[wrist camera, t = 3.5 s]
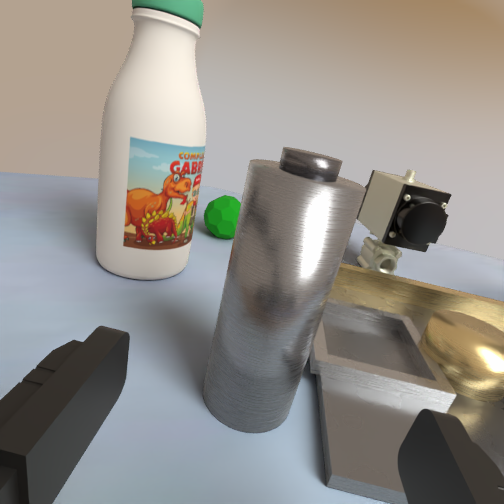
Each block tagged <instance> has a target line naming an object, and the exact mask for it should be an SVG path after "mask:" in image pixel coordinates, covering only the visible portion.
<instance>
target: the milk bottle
mask: <svg viewBox="0 0 504 504" xmlns="http://www.w3.org/2000/svg"><path fill="white" fill-rule="evenodd" d="M132 7H133V14H132V16H131V18H132V20H133V21H134V25H135V27H134V35H133V39H132V42H131V46H130V49H129V51H128V54H127V56H126V59H125V61H124V63H123V65H122V67H121V69H120V71H119V73H118V74H117V76H116V78H115V80H114V82H113V84H112V86H111V88H110V90H109V93H108V96H107V99H106V102H105V107H104V112H103V118H102V130H101V143H100V162H99V183H98V208H97V234H96V256H97V259H98V261H99V263H100V264H101V265H102V267H103V268H105V269H106V270H108V271H109V272H112V273H114V274H116V275H119V276H122V277H127V278H132V279H140V280H156V279H164V278H169V277H172V276H175V275H177V274H178V273H180V272H181V271H182V270H183V269H184V268H185V266H186V265H187V263H188V258H189V253H190V247H191V240H192V234H193V227H194V221H195V214H196V208H197V201H198V195H199V188H200V181H201V174H202V167H203V159H204V151H205V142H206V117H205V109H204V104H203V100H202V96H201V92H200V88H199V83H198V78H197V72H196V63H195V45H196V41H197V40H198V39H199V38H200V35H199V33H200V28H201V26H202V20H203V10H204V9H203V3H202V2H201V0H132Z"/></svg>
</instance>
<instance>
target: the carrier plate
mask: <svg viewBox="0 0 504 504" xmlns="http://www.w3.org/2000/svg"><path fill="white" fill-rule="evenodd" d="M309 358H310V371H311V373H313V374H316V383H317V393H318V403H319V413H320V424H321V434H322V444H323V454H324V465H325V475H326V485H327V487H330V488H334V489H338V490H342V491H346V492H350V493H353V494H357V495H361V496H365V497H369V498H373V499H376V500H380V501H384V502H388V503H392V504H408V501H407V498H406V495H405V492H404V488H403V485H402V482H401V479H400V475H399V471H398V452H399V448H400V446H401V444H402V442H403V440H404V439H405V437H406V435H407V433H408V431H409V430H410V428H411V426H412V424H413V422H414V421H415V419H416V417H417V415H418V414H419V412H420V411H421V410H422V409H430V410H434V411H438V412H442V413H446V414H450V415H454V416H456V417H457V418H458V419H459V420H460V421H461V423H462V424H463V426H464V428H465V430H466V431H467V433H468V435H469V437H470V438H471V440H472V442H474V443H477V444H478V445H479V446H480V447H481V449H482V450H483V451H484V452H485V453H486V454H487V455H488V456H489V457H490V458H491V459H492V461H493V462H494V463H495V464H496V465H497V467H498V468H499V470H500V472H501V473H502V475H503V477H504V302H502V301H498V300H494V299H490V298H486V297H482V296H478V295H473V294H469V293H465V292H461V291H457V290H453V289H449V288H445V287H440V286H436V285H432V284H428V283H424V282H420V281H416V280H411V279H407V278H403V277H399V276H395V275H391V274H387V273H383V272H378V271H374V270H370V269H366V268H362V267H358V266H354V265H349V264H345V263H341V264H340V267H339V270H338V273H337V275H336V278H335V281H334V284H333V287H332V290H331V293H330V296H329V299H328V301H327V304H326V307H325V310H324V313H323V316H322V319H321V322H320V324H319V327H318V330H317V333H316V336H315V339H314V342H313V345H312V348H311V350H310V353H309Z"/></svg>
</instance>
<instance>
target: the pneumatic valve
mask: <svg viewBox="0 0 504 504" xmlns="http://www.w3.org/2000/svg"><path fill="white" fill-rule="evenodd" d="M415 174H416V171H413V170H407V173H406V175H405V177H402V176H398V175H393V174H388V173H384V172H380V171H375V170H373V171H372V174H371V177H370V180H369V183H368V184H367V185H366V186H365V188H366V192H365V195H364V197H363V200H362V203H361V206H360V209H359V212H358V215H357V218H356V219H357V220H359V221H360V222H361V223H362V224H363V225H364V226H365V227H366V228H367V229H368V230H369V231H370V234H373V235H375V236H376V237H377V238H378V239H377V240H372V239H371V238H370V237H366V238H365V239H364V240H363V242H364V245H363V246H362V250H361V254H360V256H358V257H357V262H358V263H359V264H360V265H361V267H362V268H366V269H370V270H374V271H378V272H383V273H387V274H391V275H394V271H395V270H396V268H397V261H398V258H400V257H401V256H402V252H401V251H400V250H399V249H397V248H396V247H395V246H397V247H402V248H407V249H412V250H417V251H422V252H426V251H427V248H428V246H429V244H430V243H434V244H435V243H436V241H437V239H438V237H439V236H440V235H441V233H442V232H443V230H444V228H445V225H446V221H447V217H448V215H447V214H446V213H445V211H444V210H445V208H446V207H447V204H448V201H449V199H450V197H451V194H449V193H446V192H444V191H441V190H438V189H436V188H433V187H431V186H428V185H425V184H423V183H420V182H418V181H416V180H414V177H415Z"/></svg>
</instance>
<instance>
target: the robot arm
mask: <svg viewBox="0 0 504 504" xmlns="http://www.w3.org/2000/svg"><path fill="white" fill-rule="evenodd" d="M129 340H130V336H129V333H128V332H124V331H120V330H116V329H112V328H108V327H104V326H99V327H98V328H96V329H95V330H94V331H93V333H92V334H91V335H90V336H89V337H88V338H87V339H86V340H85V341H84V342H80V341H76V340H72V341H70V342H68V343H66V344H65V345H63V346H61V347H59V348H57V349H55V350H53V351H52V352H51V353H50V354H49V355H47V356H46V357H45V358H44V359H43V360H42V361H41V362H40V363H39V364H38V365H37V367H36V369H33V370H32V371H31V372H30V373H29V374H28V375H26V376H25V377H24V378H23V381H22V382H21V383H20V382H19V383H18V384H17V385H16V386H15V387H14V388H13V389H12V390H11V391H10V392H9V393H8V394H6V395H5V396H4V397H3V398H2V399H1V400H0V504H52V503H53V502H54V500H55V498H56V497H57V495H58V494H59V492H60V490H61V489H62V487H63V486H64V484H65V482H66V481H67V479H68V478H69V476H70V475H71V473H72V471H73V470H74V468H75V467H76V465H77V463H78V462H79V460H80V459H81V457H82V455H83V454H84V452H85V451H86V449H87V447H88V446H89V444H90V443H91V441H92V440H93V438H94V436H95V435H96V433H97V432H98V430H99V428H100V427H101V425H102V424H103V422H104V420H105V419H106V417H107V416H108V414H109V413H110V411H111V409H112V408H113V406H114V405H115V403H116V401H117V400H118V398H119V396H120V394H121V392H122V389H123V386H124V383H125V380H126V373H127V362H128V351H129ZM398 471H399V475H400V479H401V482H402V485H403V488H404V492H405V495H406V498H407V501H408V504H504V477H503V475H502V473H501V472H500V470H499V468H498V467H497V465H496V464H495V463H494V462H493V461H492V459H491V458H490V457H489V456H488V455H487V454H486V453H485V452H484V451H483V450H482V449H481V447H480V446H479V445H478V444H477V443H474V442H472V440H471V438H470V437H469V435H468V433H467V431H466V430H465V428H464V426H463V424H462V423H461V421H460V420H459V419H458V418H457V417H456V416H454V415H450V414H446V413H442V412H438V411H434V410H430V409H422V410H421V411H420V412H419V414H418V415H417V417H416V419H415V421H414V422H413V424H412V426H411V428H410V430H409V431H408V433H407V435H406V437H405V439H404V440H403V442H402V444H401V446H400V448H399V452H398Z"/></svg>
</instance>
